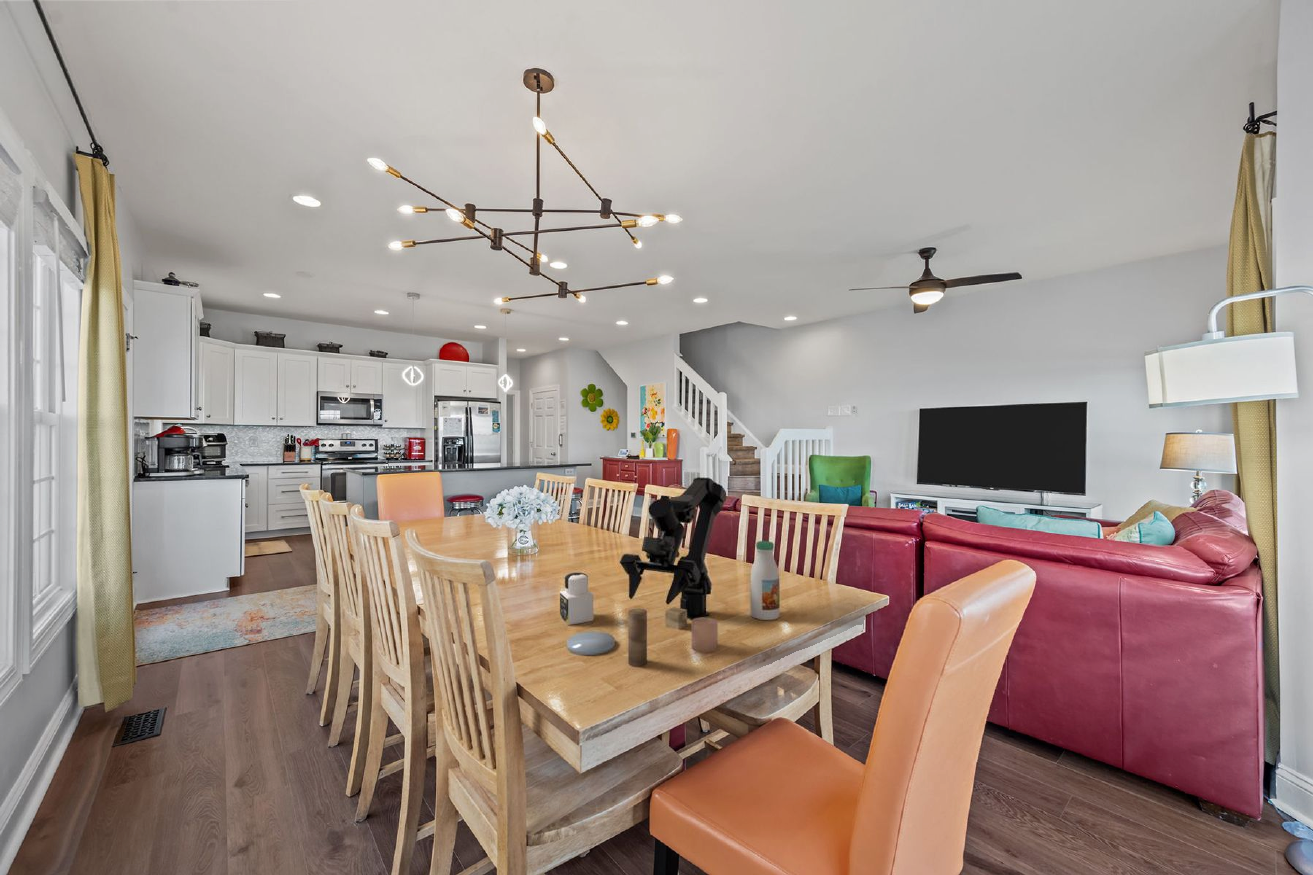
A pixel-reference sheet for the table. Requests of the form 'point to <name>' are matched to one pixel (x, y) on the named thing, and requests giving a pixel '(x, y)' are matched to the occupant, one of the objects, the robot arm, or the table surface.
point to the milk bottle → (765, 584)
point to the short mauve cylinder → (704, 635)
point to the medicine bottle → (576, 600)
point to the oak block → (676, 618)
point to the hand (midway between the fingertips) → (648, 600)
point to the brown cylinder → (637, 637)
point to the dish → (590, 643)
